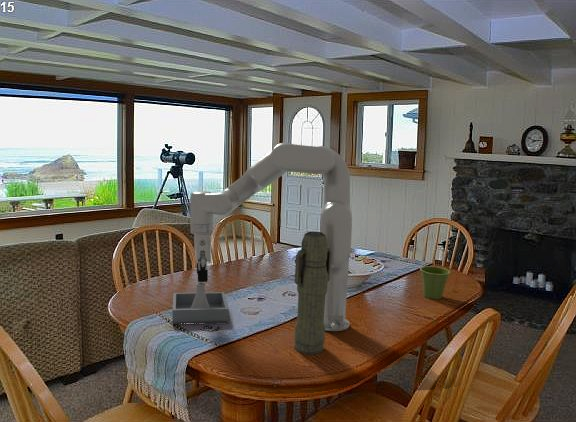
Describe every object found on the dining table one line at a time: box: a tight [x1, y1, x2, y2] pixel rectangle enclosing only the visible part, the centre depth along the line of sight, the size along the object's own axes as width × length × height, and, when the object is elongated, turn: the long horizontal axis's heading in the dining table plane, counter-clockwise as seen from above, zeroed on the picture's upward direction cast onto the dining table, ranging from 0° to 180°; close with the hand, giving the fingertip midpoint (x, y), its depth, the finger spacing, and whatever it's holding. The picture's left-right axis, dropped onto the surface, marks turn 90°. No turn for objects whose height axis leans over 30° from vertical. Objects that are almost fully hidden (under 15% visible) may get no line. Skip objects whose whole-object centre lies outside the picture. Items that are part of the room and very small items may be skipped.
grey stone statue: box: [293, 231, 331, 355], centre depth 153 cm, size 9×12×35 cm
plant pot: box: [419, 265, 451, 300], centre depth 211 cm, size 12×12×11 cm
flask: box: [191, 282, 210, 309], centre depth 178 cm, size 7×7×10 cm
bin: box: [171, 291, 230, 325], centre depth 179 cm, size 18×18×5 cm
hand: (202, 277), depth 177 cm, fingers open, 9 cm apart
